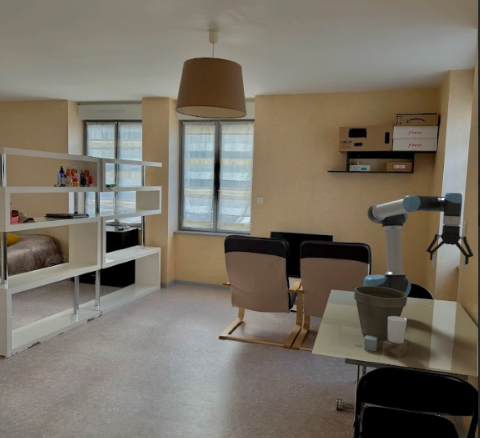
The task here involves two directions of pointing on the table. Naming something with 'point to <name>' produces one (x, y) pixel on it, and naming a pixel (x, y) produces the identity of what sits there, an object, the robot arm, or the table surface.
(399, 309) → the plant pot
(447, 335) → the table surface
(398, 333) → the white cup
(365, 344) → the grey cube
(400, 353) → the walnut block
